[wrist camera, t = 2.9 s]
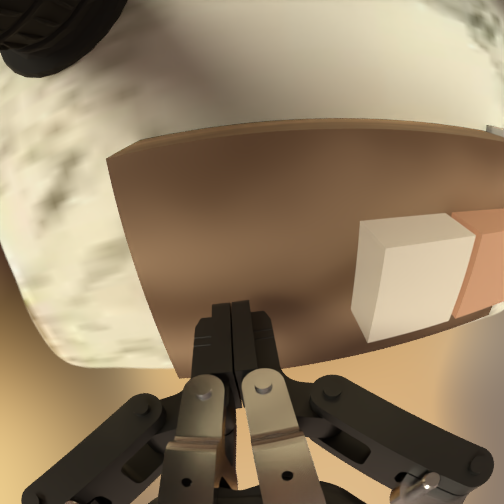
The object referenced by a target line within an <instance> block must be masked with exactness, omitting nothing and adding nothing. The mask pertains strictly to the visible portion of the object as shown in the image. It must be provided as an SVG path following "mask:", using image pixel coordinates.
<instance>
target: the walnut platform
mask: <svg viewBox="0 0 504 504" xmlns="http://www.w3.org/2000/svg"><path fill="white" fill-rule="evenodd" d="M106 161H107V166H108V170H109V175H110V179H111V183H112V188H113V192H114V196H115V200H116V204H117V207H118V211H119V215H120V219H121V222H122V226H123V229H124V233H125V236H126V239H127V243H128V246H129V249H130V253H131V256H132V259H133V262H134V265H135V268H136V271H137V274H138V277H139V280H140V283H141V286H142V289H143V291H144V294H145V297H146V300H147V302H148V305H149V308H150V310H151V313H152V316H153V318H154V321H155V323H156V326H157V328H158V331H159V333H160V336H161V338H162V341H163V343H164V346H165V348H166V350H167V353H168V355H169V357H170V360H171V362H172V364H173V366H174V369H175V371H176V373H177V375H178V377H179V378H191V369H192V357H193V347H194V346H193V345H194V334H195V327H196V325H197V324H198V322H199V320H200V319H201V318H207V317H212V304H219V303H228V302H230V303H231V302H235V301H243V300H249V303H250V310H251V312H256V311H263V310H264V311H265V312H266V314H267V315H268V316H269V317H270V318H271V322H272V327H273V332H274V338H275V342H276V347H277V352H278V357H279V362H280V367H281V369H283V368H290V367H296V366H302V365H308V364H314V363H319V362H325V361H330V360H335V359H339V358H345V357H350V356H354V355H359V354H363V353H367V352H371V351H376V350H380V349H384V348H387V347H391V346H395V345H399V344H402V343H406V342H410V341H413V340H416V339H420V338H423V337H426V336H430V335H433V334H436V333H439V332H442V331H445V330H448V329H451V328H454V327H457V326H460V325H462V324H465V323H468V322H471V321H473V320H476V319H479V318H481V317H484V316H486V315H489V312H490V310H491V308H492V306H490V307H487V308H484V309H482V310H479V311H476V312H473V313H470V314H468V315H465V316H462V317H459V318H456V319H455V318H454V316H453V315H452V314H451V316H450V319H449V321H447V322H443V323H440V324H437V325H434V326H430V327H427V328H424V329H420V330H417V331H413V332H409V333H406V334H402V335H398V336H394V337H391V338H387V339H382V340H378V341H374V342H370V343H367V341H366V339H365V337H364V335H363V333H362V331H361V329H360V327H359V325H358V323H357V321H356V319H355V317H354V315H353V313H352V311H351V304H352V296H353V288H354V280H355V272H356V262H357V252H358V241H359V228H360V221H365V220H375V219H385V218H395V217H406V216H417V215H428V214H439V213H446V214H447V215H449V216H450V217H451V215H452V212H463V211H476V210H489V209H503V208H504V137H501V136H498V135H495V134H492V133H489V132H486V131H482V130H476V129H470V128H464V127H457V126H450V125H442V124H434V123H424V122H414V121H401V120H384V119H352V118H329V119H296V120H279V121H265V122H254V123H244V124H235V125H226V126H218V127H211V128H204V129H197V130H191V131H185V132H179V133H173V134H168V135H163V136H158V137H153V138H148V139H143V140H139V141H138V142H136V143H134V144H132V145H130V146H128V147H126V148H124V149H122V150H121V151H119V152H117V153H115V154H113V155H112V156H110V157H108V158H106Z"/></svg>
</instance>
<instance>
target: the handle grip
mask: <svg viewBox="0 0 504 504" xmlns="http://www.w3.org/2000/svg"><path fill="white" fill-rule="evenodd" d="M126 2H127V0H0V53H1V55H2V57H3V60H4V62H5V63H6V65H7V66H8V67H9V68H10V69H11V70H13V71H14V72H15V73H17V74H19V75H22V76H24V77H39V78H40V77H44V76H47V75H51V74H55V73H57V72H59V71H61V70H63V69H65V68H67V67H68V66H70V65H72V64H74V63H75V62H77V61H78V60H79V59H80V58H82V57H83V56H84V55H86V54H87V53H88V52H89V51H91V50H92V49H93V48H94V47H95V46H96V45H97V43H98V42H99V41H100V40H101V39H102V38H103V37H104V36H105V35H106V34H107V33H108V31H109V30H110V29H111V27H112V26H113V24H114V23H115V21H116V20H117V19H118V17H119V16H120V14H121V12H122V10H123V8H124V6H125V4H126Z"/></svg>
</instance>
